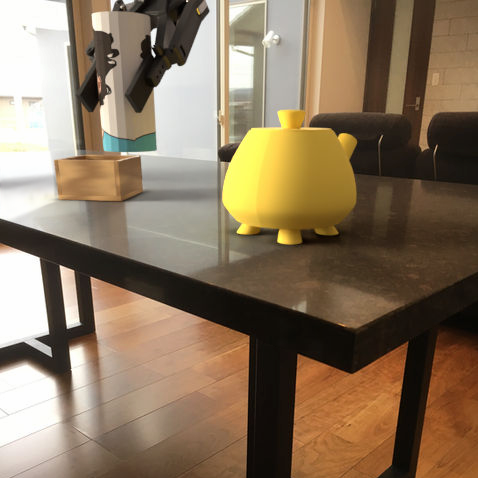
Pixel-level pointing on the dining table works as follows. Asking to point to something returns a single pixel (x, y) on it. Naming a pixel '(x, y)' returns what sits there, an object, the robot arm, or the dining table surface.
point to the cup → (122, 80)
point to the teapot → (291, 179)
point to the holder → (98, 177)
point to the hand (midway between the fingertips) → (108, 103)
